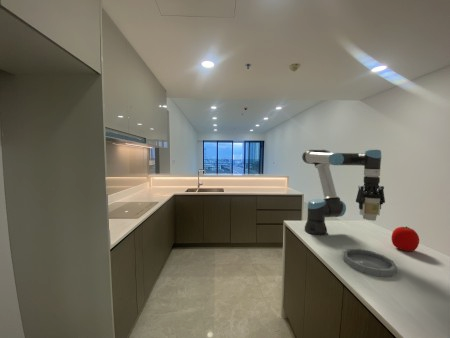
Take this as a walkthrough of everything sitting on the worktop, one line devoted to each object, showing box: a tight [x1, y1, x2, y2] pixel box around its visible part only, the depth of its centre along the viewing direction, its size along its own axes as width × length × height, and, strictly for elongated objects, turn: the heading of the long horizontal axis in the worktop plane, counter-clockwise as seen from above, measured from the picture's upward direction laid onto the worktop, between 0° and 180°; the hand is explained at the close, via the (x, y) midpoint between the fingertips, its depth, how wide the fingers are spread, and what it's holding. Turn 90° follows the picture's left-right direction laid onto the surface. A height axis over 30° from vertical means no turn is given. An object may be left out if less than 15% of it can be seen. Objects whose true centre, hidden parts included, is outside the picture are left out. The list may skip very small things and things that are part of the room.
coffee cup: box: [362, 192, 381, 221], centre depth 116 cm, size 10×10×15 cm
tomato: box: [390, 226, 420, 252], centre depth 118 cm, size 13×11×14 cm
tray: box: [342, 248, 398, 278], centre depth 102 cm, size 21×21×3 cm
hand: (369, 214), depth 116 cm, fingers closed on coffee cup, 9 cm apart
